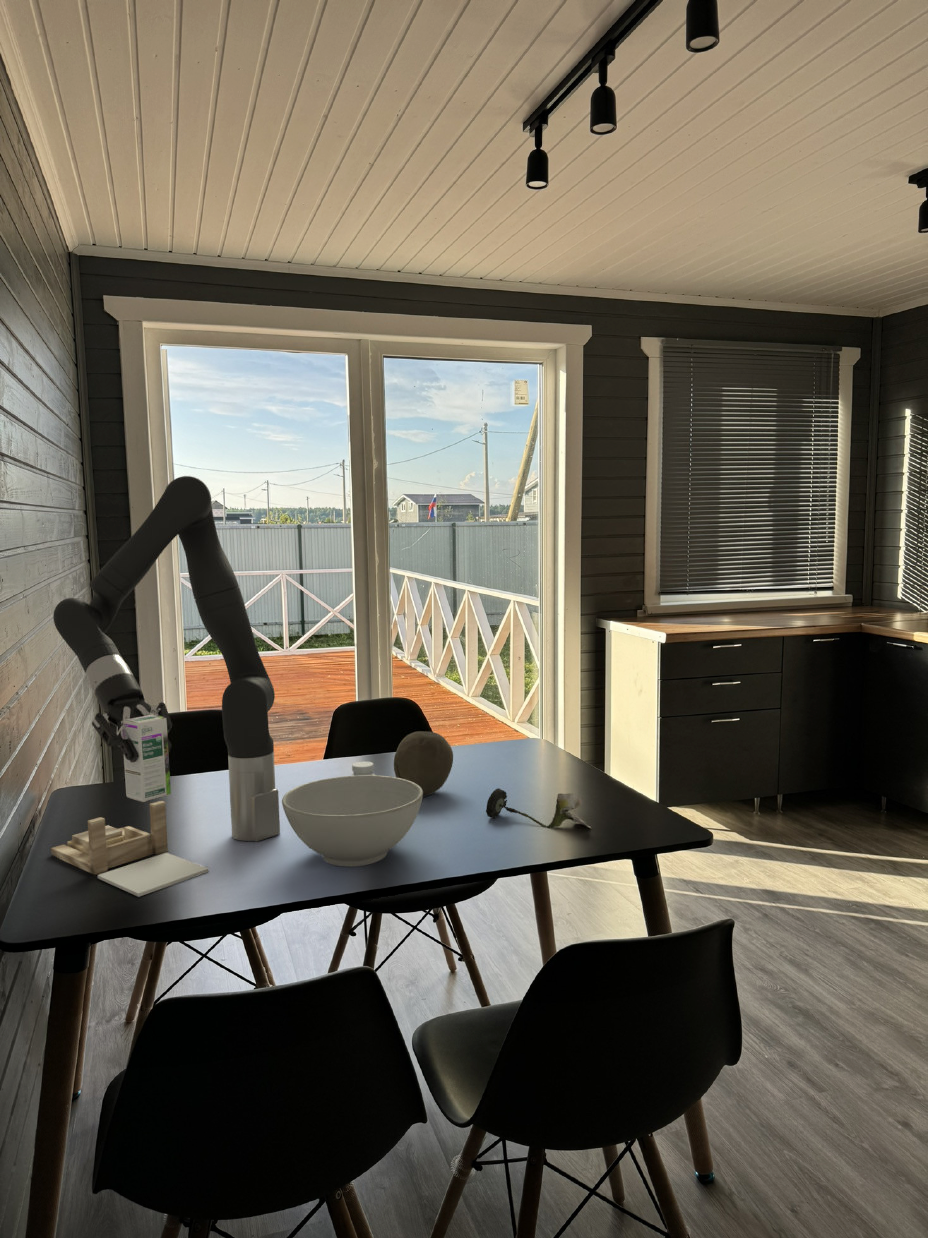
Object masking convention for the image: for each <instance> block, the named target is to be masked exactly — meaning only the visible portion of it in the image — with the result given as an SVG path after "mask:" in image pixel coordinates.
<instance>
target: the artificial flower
mask: <svg viewBox="0 0 928 1238" xmlns="http://www.w3.org/2000/svg"><path fill="white" fill-rule="evenodd" d="M507 794H508V793H507V792H506V791H505V790H503V789H501V788H500V787H499V788H498V787H497V788H495V790H493V791H492V792H491V794H490V796H489V797H488V799H487V802H486V810H485V813H486V816H487V817H488V818H490V819H493V820H494V819H495V818H497V817H498V816H500V813H501V812H502V809H505V810H506V812H509V813H513V814H518V815H521V816H523V817H525V818H528V819H529V820H532V821H533V822H535V823H536V824H538V825H539V826H541V827H543V828H546V827H551V828H558V827H560V826H561V825H562V824H563V822H565V821H566V820H571V821H572V822H574V823H579V824H580V825H582V826H585V827H587V828H588V829H589V828H590V829H592V827H591V826H589V825H588V824H587V823H586V822H585V821H584V820H582V819H581V818H580V817H579V816H577V815H576V814H573V813H571V812H576V811H577V810H578V809H579V808H580V807H581V805H582V802H583V801H582V799H581V798H577V796H576V795H575V794H574V793H573V792H572V793H562V792H561V793H558V794H557V797H556V801H555V803H556V805H555V812H554V816H553V817H552V820H551V822H550V823H549V825H546V824H544V823H542V822H540V821H539V820H537V819H535V818H534V817H532V816H530V815H529V814H527V813H524V812H521V811H519V810H517V809H515V808H513V807H508V806H507V802H508V801H507V798H508V795H507Z"/></svg>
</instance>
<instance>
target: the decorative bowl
mask: <svg viewBox="0 0 928 1238" xmlns="http://www.w3.org/2000/svg"><path fill="white" fill-rule="evenodd" d="M375 775H376V774H375ZM375 775H358V776H351V775H346V776H345V775H344V776H335V777H329V778H324V779H319V780H314V781H310V782H307V783H304V784H301V785H299V786H296V787H293V788H292V789H290V790H288V791H287V792H285V794H284V795H283V797H282V799H281V804H282V808H283V812H284V814H285V817H286V819H287V821H288V823H289V825H290V827H291V829H292V830H293V832H294V833H295V834H296V836H297V837H298V838H299V840H301V842H302V843H304V844H305V845H306V846H307V847H308V848H309V849H310V850H312V851H313V852H315V853H317V854H319V855H321V856H322V859H323V860H324V861H325V862H326V863H328V864H330V865H333V866H337V867H360V866H361V867H362V866H367V865H371V864H375V863H377V862H380V861H382V860H383V859H384V858H385V857H387V855H388V851H390V850H391V849H392V848H393V847H396V845H397V844H399V843H400V842H401V840H403V838H404V837H405V836H406V835H407V834H408V832H409V831H410V829H411V828H412V826H413V824H414V823H415V820H416V819H417V816H418V814H419V812H420V809H421V805H422V801H423V797H424V796H423V791H422V789H421V787H420V786H419V785H417V784H415V783H414V782H411V781H408V780H405V779H401V778H396V776H395V777H394V776H388V775H387V776H386V775H376V776H375Z"/></svg>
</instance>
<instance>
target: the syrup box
mask: <svg viewBox="0 0 928 1238" xmlns="http://www.w3.org/2000/svg"><path fill="white" fill-rule="evenodd" d="M122 722H124V724H125V726H126V731H127V733H128V735H129V736H128V740H129V739H131V741H132V743H133V745H134V747H135V749H136V751H137V752H138V758H137V760H136V762H132V763H131V762H130V760H127V759H126V757H125V755H124V754H123V765H124V766H123V767H124V780H125V795H126V797H127V798H128V799H132V800H135V801H138V802H141V803H146V802H148V801H150V800H154V799H158V798H161V797H165V796H170V795H171V794H172V788H171V773H170V771H171V770H170V759H169V756H170V755H169V753H170V752H169V753H168V739H169V737H168V734H167V720H166V718H165V717H162V716H158V715H153V714H151V715H148V716H143V717H137V718H132V719H127V720H123V721H121V723H122Z"/></svg>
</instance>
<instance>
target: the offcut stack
mask: <svg viewBox="0 0 928 1238" xmlns="http://www.w3.org/2000/svg"><path fill="white" fill-rule="evenodd" d="M105 833H106V846H109V845H112V844H115V843H119V842H122V841H125V840H124V836H122V830H119V828H116V827H113V826H110V825H109V824H108V825H107V824H106V825H105ZM86 838H89V835H88V830H86V831H83V832H79V833H76V834H73V835H71V840H69V841H67V844H66V845H67V846H69V847H71V848H73V849H76V850H78V851H80V852H83V839H86Z"/></svg>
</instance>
